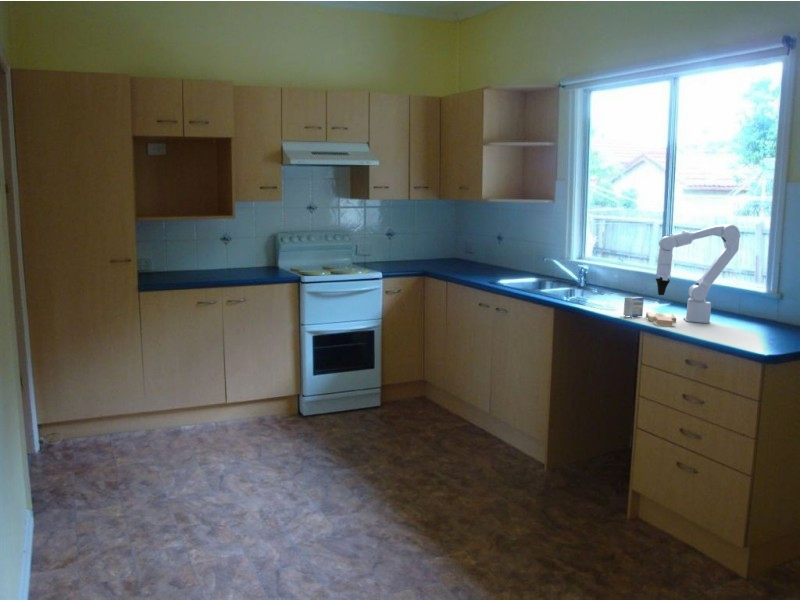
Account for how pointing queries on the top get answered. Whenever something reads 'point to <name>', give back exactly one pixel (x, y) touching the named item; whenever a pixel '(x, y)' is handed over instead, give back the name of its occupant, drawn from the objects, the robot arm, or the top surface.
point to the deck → (652, 316)
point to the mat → (663, 325)
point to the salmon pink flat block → (663, 320)
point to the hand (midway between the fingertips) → (660, 295)
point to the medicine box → (633, 306)
